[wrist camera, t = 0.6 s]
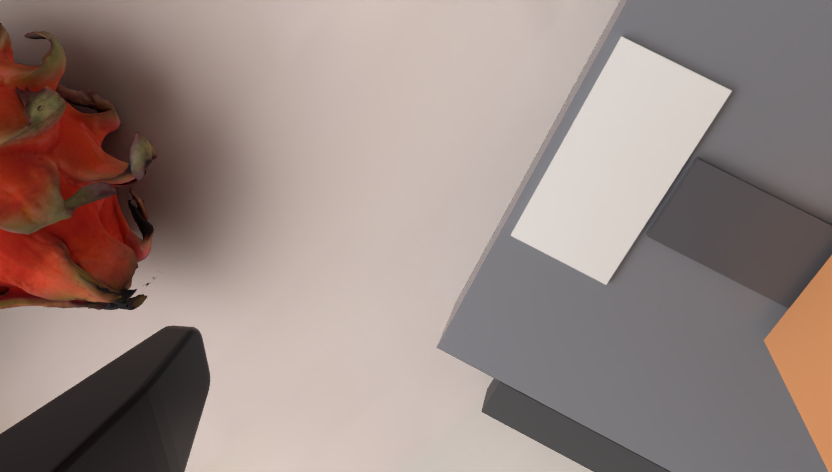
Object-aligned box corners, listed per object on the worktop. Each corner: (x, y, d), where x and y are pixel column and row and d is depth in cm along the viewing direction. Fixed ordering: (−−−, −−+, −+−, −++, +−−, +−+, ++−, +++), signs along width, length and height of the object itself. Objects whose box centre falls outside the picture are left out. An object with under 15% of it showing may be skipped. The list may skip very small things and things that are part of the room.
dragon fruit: (-4, -14, 26) (223, 217, 29) (-202, 135, 24) (63, 363, 27) (-84, -112, 18) (241, 222, 21) (-391, 100, 16) (16, 430, 19)
